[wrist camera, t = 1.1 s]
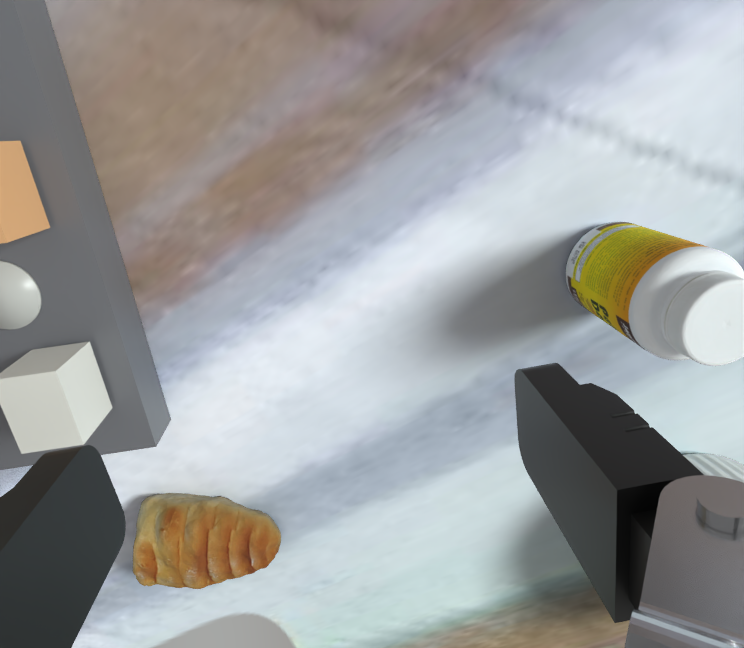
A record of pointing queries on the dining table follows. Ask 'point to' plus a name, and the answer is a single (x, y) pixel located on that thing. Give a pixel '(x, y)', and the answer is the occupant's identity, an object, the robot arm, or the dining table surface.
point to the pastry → (200, 540)
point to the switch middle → (18, 195)
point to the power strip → (67, 247)
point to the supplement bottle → (661, 292)
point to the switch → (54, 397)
